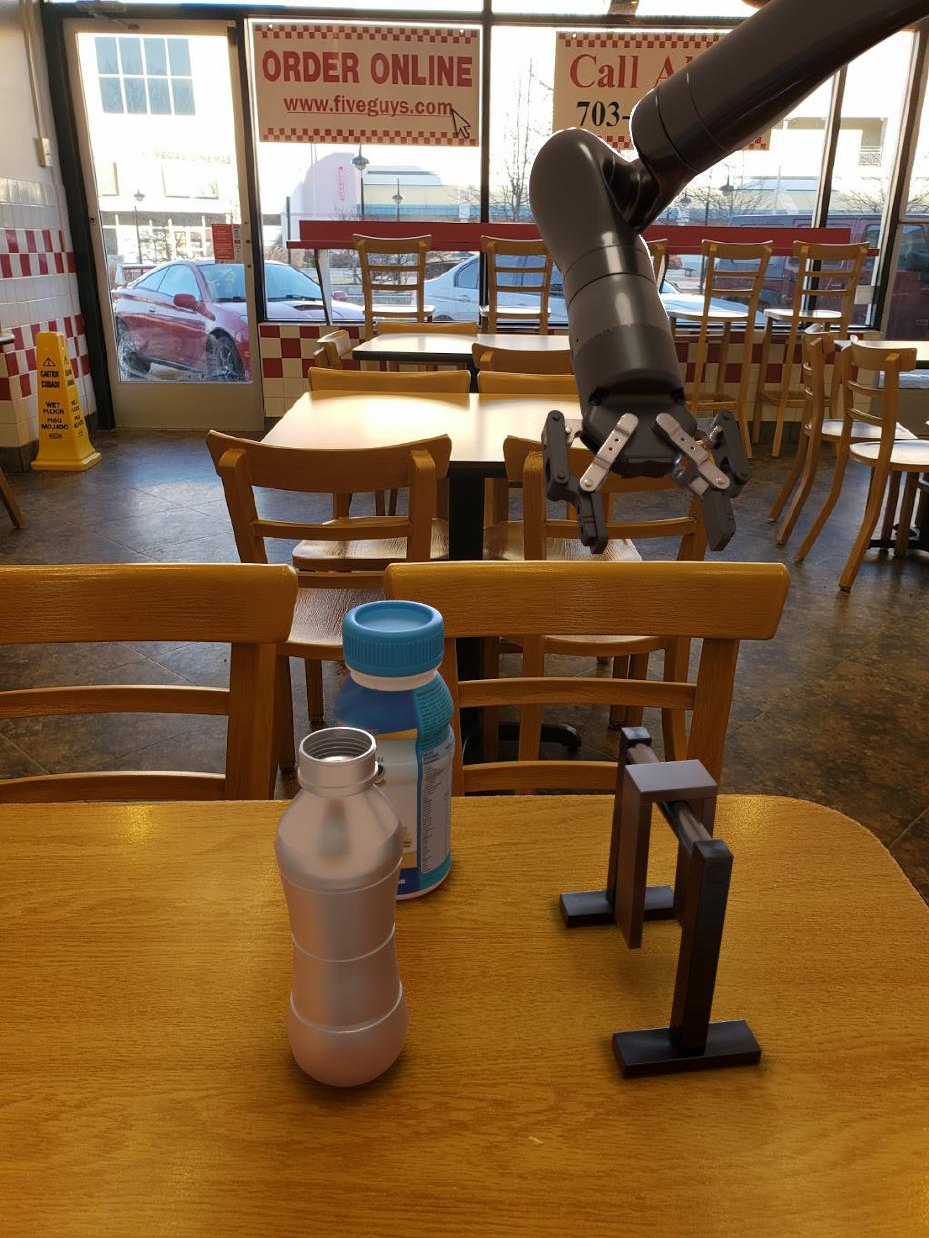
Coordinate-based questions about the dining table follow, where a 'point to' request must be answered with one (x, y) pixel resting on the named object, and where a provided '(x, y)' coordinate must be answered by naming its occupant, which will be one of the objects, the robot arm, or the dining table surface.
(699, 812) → the two-legged arch bridge
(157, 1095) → the dining table surface
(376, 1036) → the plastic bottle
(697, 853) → the rack
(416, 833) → the beverage bottle
